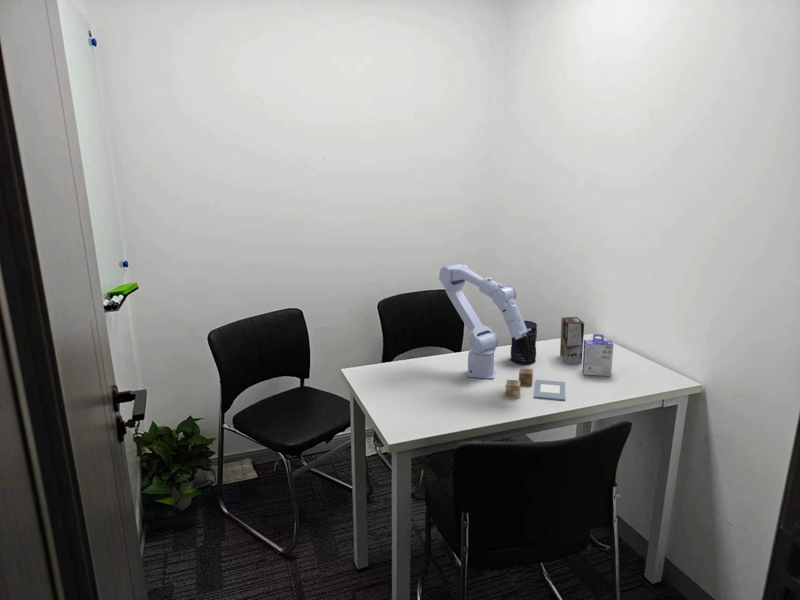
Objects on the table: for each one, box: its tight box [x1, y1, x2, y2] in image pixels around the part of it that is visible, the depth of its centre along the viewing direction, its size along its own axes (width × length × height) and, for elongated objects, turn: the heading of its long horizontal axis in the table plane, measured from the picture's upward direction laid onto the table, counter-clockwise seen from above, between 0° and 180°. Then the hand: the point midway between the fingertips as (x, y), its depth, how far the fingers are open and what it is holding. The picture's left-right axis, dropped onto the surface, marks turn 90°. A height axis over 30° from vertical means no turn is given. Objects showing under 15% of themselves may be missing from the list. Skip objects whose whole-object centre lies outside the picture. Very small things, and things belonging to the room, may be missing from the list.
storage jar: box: [510, 320, 538, 366], centre depth 209 cm, size 10×10×15 cm
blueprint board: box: [533, 379, 566, 402], centre depth 184 cm, size 10×14×1 cm
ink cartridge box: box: [581, 333, 614, 377], centre depth 195 cm, size 10×6×14 cm, turn 78°
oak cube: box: [504, 379, 521, 399], centre depth 182 cm, size 4×4×4 cm
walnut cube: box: [518, 367, 534, 387], centre depth 191 cm, size 4×4×4 cm
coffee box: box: [559, 316, 585, 364], centre depth 209 cm, size 9×6×16 cm
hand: (529, 358), depth 180 cm, fingers open, 7 cm apart
